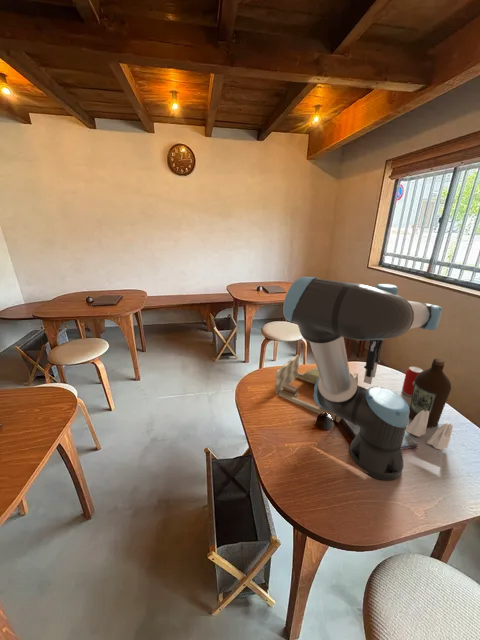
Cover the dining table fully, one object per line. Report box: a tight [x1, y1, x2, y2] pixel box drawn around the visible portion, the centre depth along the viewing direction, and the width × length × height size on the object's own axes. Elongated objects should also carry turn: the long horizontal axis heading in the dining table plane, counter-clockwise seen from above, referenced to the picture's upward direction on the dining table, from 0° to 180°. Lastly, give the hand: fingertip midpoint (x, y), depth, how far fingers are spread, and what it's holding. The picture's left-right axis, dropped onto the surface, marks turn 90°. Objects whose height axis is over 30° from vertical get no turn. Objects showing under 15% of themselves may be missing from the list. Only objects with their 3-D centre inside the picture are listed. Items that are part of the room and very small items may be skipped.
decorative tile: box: [303, 367, 359, 385], centre depth 120 cm, size 19×6×20 cm
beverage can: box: [401, 366, 424, 398], centre depth 114 cm, size 6×6×12 cm
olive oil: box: [409, 357, 452, 428], centre depth 96 cm, size 11×11×25 cm
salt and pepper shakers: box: [405, 410, 454, 451], centre depth 89 cm, size 12×4×11 cm, turn 45°
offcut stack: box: [280, 384, 300, 398], centre depth 114 cm, size 3×7×4 cm, turn 52°
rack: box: [274, 354, 359, 423], centre depth 112 cm, size 19×27×12 cm
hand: (369, 379), depth 107 cm, fingers open, 5 cm apart
